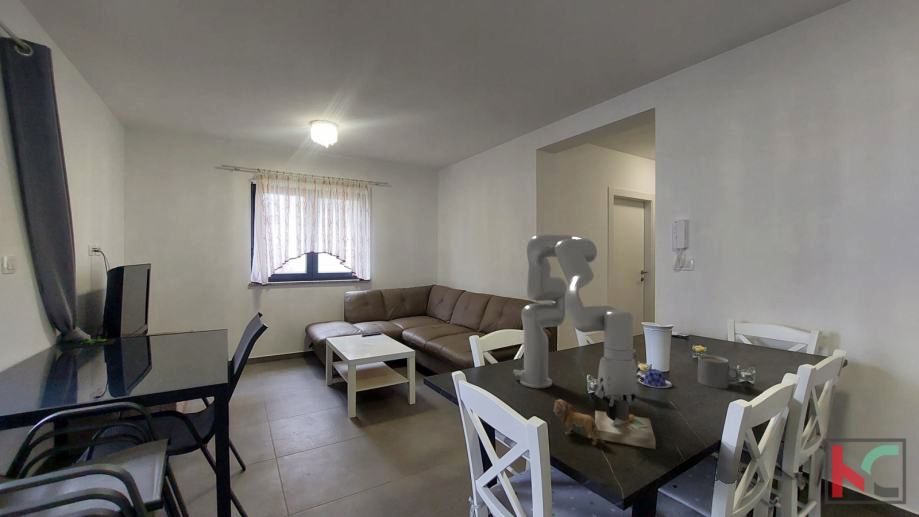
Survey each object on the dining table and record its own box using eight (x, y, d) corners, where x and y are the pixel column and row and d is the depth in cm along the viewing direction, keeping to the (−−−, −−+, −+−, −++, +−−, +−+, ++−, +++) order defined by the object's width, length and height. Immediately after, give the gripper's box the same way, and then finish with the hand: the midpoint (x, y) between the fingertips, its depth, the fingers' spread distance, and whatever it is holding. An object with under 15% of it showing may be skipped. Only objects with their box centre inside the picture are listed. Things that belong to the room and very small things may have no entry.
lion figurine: (550, 431, 104) (550, 400, 104) (557, 425, 109) (558, 395, 108) (602, 448, 95) (602, 415, 95) (608, 440, 99) (608, 408, 99)
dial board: (594, 438, 100) (594, 428, 100) (595, 418, 113) (595, 409, 113) (655, 449, 95) (655, 438, 95) (649, 427, 107) (649, 417, 107)
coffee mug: (694, 383, 143) (694, 358, 143) (702, 377, 150) (702, 353, 150) (735, 393, 133) (735, 366, 133) (742, 386, 140) (742, 361, 139)
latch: (624, 429, 100) (624, 403, 100) (605, 421, 105) (605, 396, 105) (642, 422, 104) (642, 397, 104) (623, 414, 109) (623, 390, 109)
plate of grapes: (639, 387, 140) (639, 373, 140) (636, 377, 151) (636, 364, 151) (675, 391, 136) (675, 377, 136) (668, 380, 147) (668, 368, 147)
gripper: (636, 349, 108) (636, 410, 108) (584, 351, 105) (584, 414, 105) (653, 356, 100) (653, 421, 100) (598, 358, 98) (597, 426, 98)
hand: (618, 417), depth 103 cm, fingers open, 3 cm apart
